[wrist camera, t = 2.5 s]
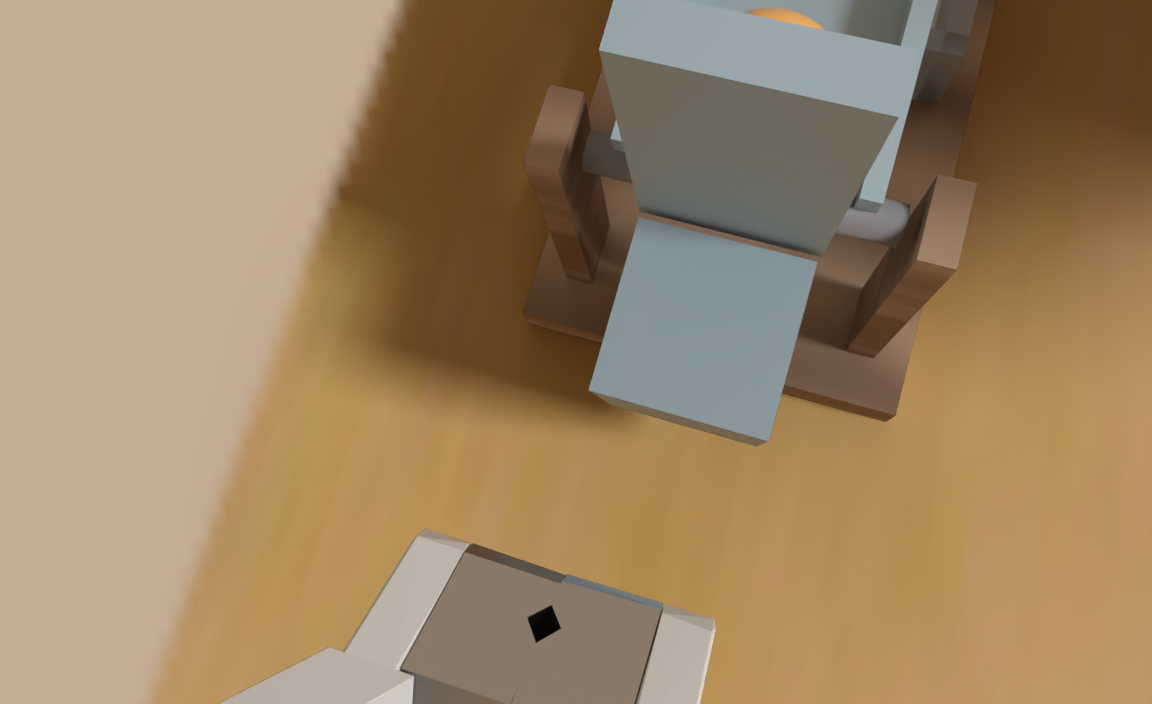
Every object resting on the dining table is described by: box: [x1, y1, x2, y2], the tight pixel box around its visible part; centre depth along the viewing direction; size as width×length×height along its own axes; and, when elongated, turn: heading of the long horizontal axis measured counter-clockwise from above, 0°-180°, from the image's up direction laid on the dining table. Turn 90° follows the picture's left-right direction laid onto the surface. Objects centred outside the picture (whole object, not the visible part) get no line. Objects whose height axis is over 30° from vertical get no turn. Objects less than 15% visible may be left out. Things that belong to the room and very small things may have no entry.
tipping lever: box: [582, 0, 938, 446], centre depth 24 cm, size 18×9×16 cm, turn 163°
